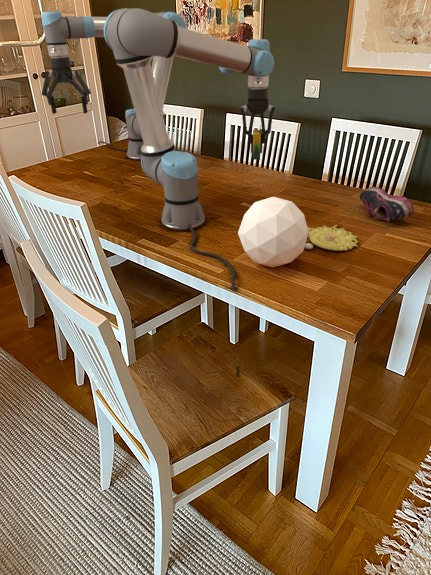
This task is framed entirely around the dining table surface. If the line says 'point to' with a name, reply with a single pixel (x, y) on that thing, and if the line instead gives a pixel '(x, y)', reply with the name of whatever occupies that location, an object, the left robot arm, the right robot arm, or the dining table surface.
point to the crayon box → (256, 144)
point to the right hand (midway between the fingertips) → (256, 151)
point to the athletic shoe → (385, 204)
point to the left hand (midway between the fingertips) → (70, 113)
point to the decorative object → (331, 238)
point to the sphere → (273, 232)
